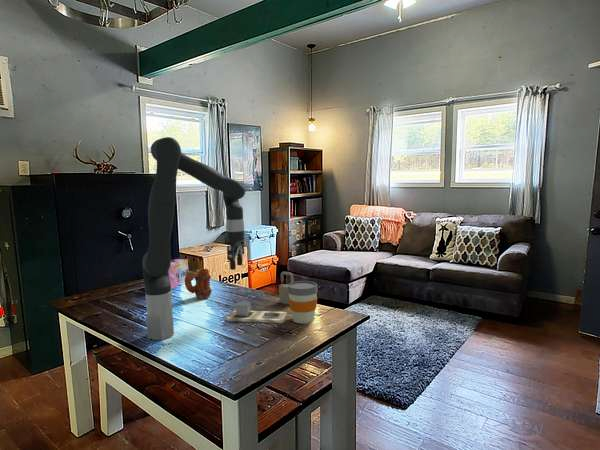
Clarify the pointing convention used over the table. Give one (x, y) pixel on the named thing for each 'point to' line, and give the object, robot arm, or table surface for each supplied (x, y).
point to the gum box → (178, 271)
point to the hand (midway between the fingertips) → (236, 267)
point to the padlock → (284, 288)
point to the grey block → (243, 309)
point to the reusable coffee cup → (302, 300)
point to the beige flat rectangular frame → (260, 317)
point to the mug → (199, 283)
